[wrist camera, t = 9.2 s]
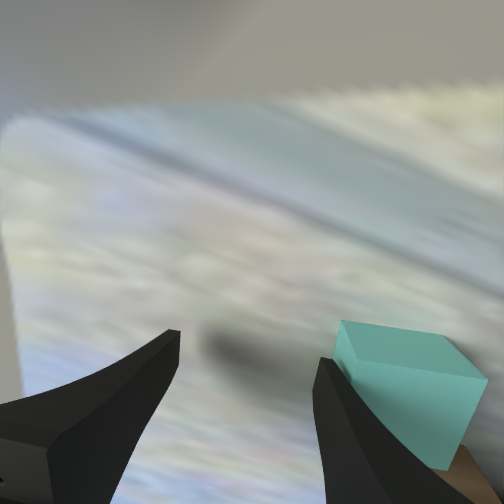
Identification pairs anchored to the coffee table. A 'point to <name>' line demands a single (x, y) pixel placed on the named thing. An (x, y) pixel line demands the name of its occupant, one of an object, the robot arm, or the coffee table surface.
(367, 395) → the turquoise cube box
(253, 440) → the coffee table surface
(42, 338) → the coffee table surface
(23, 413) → the robot arm
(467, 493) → the brown wooden block
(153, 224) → the coffee table surface
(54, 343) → the coffee table surface
